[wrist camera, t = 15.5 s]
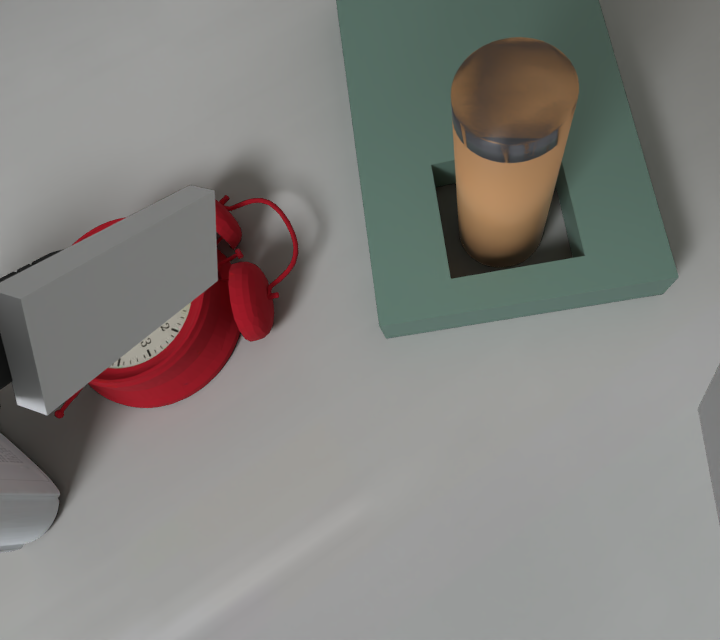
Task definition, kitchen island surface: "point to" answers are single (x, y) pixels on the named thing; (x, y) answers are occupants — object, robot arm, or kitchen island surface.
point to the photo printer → (23, 498)
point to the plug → (509, 144)
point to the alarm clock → (196, 327)
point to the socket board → (437, 163)
